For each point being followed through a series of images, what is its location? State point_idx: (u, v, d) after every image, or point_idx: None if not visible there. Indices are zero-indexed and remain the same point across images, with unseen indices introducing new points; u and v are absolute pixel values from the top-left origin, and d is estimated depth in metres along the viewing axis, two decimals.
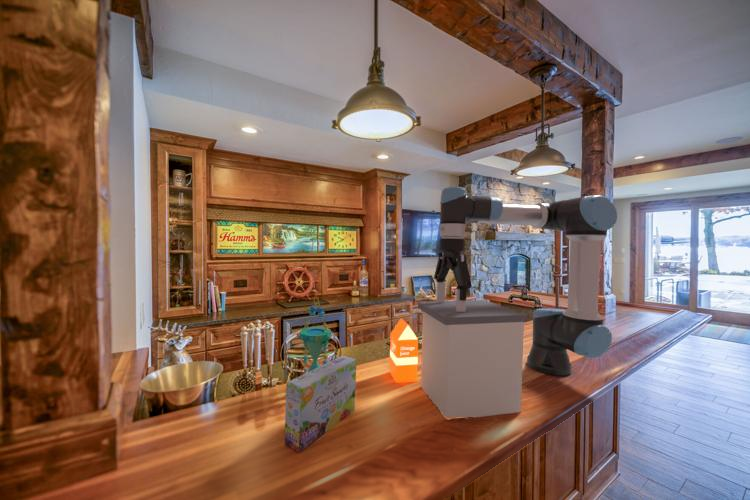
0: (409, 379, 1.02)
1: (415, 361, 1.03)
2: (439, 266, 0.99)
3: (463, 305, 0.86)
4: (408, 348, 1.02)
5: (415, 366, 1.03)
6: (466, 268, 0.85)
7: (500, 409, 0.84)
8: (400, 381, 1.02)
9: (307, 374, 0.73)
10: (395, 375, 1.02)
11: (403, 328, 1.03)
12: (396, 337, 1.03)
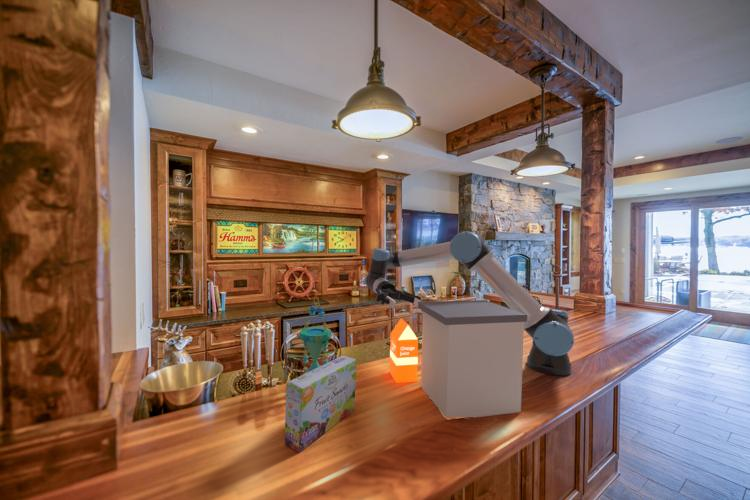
0: (409, 379, 1.02)
1: (415, 361, 1.03)
2: None
3: (391, 302, 1.07)
4: (408, 348, 1.02)
5: (415, 366, 1.03)
6: (377, 292, 1.16)
7: (500, 409, 0.84)
8: (400, 381, 1.02)
9: (307, 374, 0.73)
10: (395, 375, 1.02)
11: (403, 328, 1.03)
12: (396, 337, 1.03)
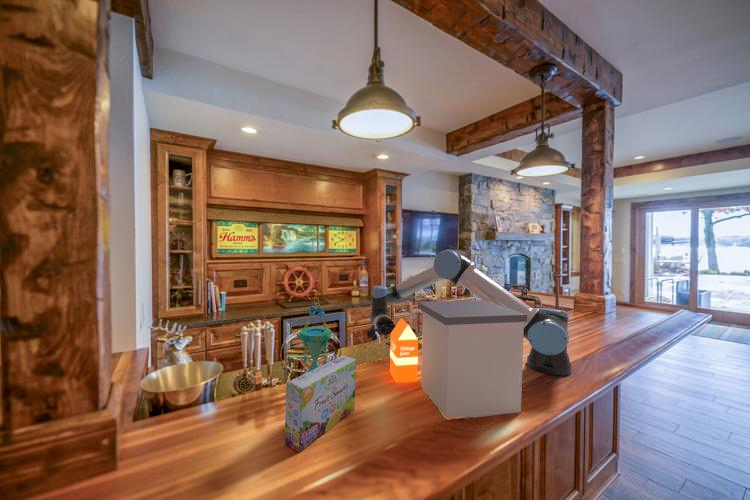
0: (409, 379, 1.02)
1: (415, 361, 1.03)
2: None
3: (377, 337, 1.13)
4: (408, 348, 1.02)
5: (415, 366, 1.03)
6: None
7: (500, 409, 0.84)
8: (400, 381, 1.02)
9: (307, 374, 0.73)
10: (395, 375, 1.02)
11: (403, 328, 1.03)
12: (396, 337, 1.03)
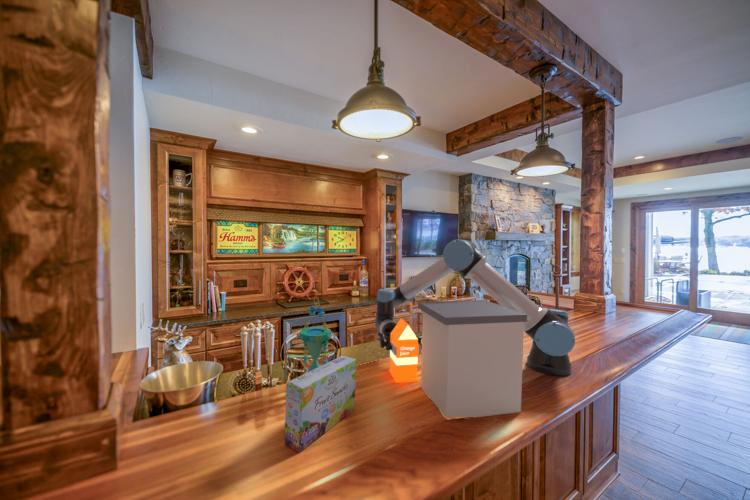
0: (409, 379, 1.02)
1: (415, 361, 1.03)
2: None
3: (393, 347, 1.02)
4: (408, 348, 1.02)
5: (415, 366, 1.03)
6: (380, 337, 1.12)
7: (500, 409, 0.84)
8: (400, 381, 1.02)
9: (307, 374, 0.73)
10: (395, 375, 1.02)
11: (403, 328, 1.03)
12: (396, 337, 1.03)
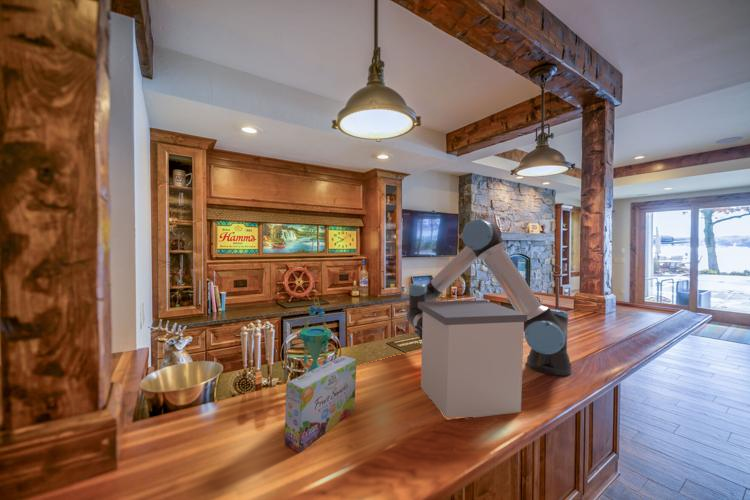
0: None
1: None
2: None
3: None
4: None
5: None
6: (418, 330, 1.15)
7: (500, 409, 0.84)
8: None
9: (307, 374, 0.73)
10: None
11: None
12: None
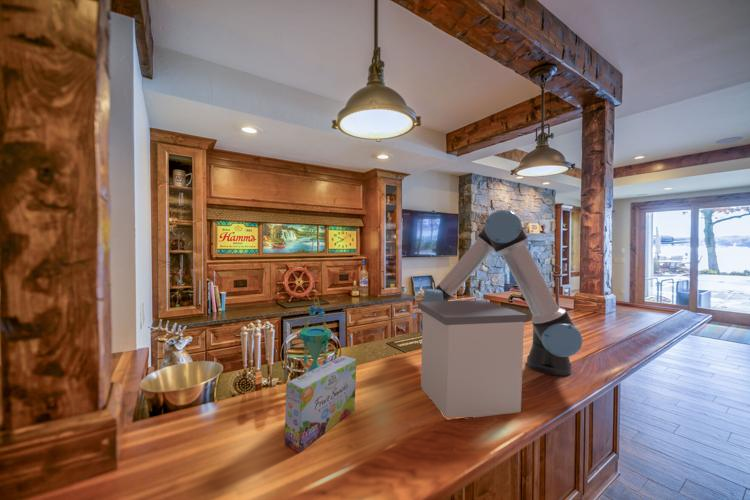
0: None
1: None
2: None
3: None
4: None
5: None
6: None
7: (500, 409, 0.84)
8: None
9: (307, 374, 0.73)
10: None
11: None
12: None
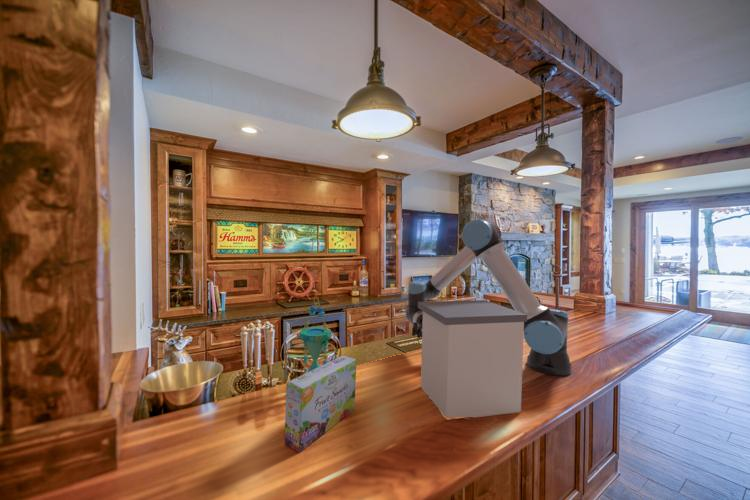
0: None
1: None
2: None
3: None
4: None
5: None
6: (413, 326, 1.17)
7: (500, 409, 0.84)
8: None
9: (307, 374, 0.73)
10: None
11: None
12: None
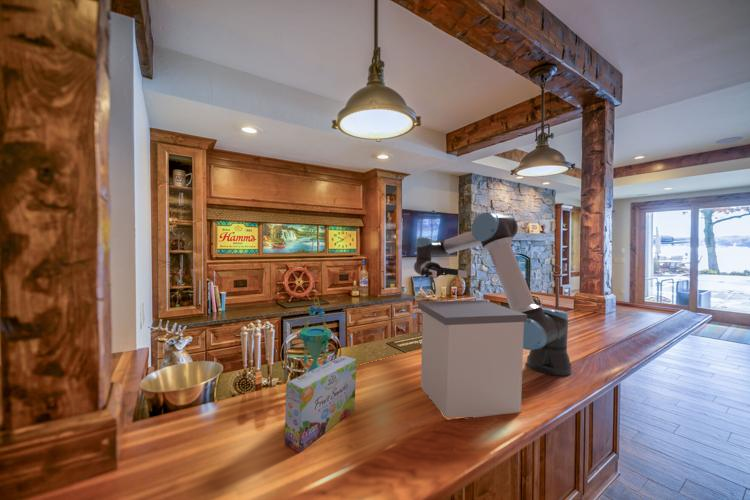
0: None
1: None
2: None
3: (433, 272, 1.23)
4: None
5: None
6: None
7: (500, 409, 0.84)
8: None
9: (307, 374, 0.73)
10: None
11: None
12: None
